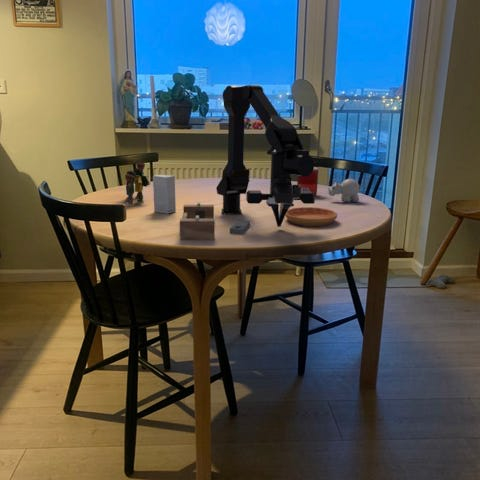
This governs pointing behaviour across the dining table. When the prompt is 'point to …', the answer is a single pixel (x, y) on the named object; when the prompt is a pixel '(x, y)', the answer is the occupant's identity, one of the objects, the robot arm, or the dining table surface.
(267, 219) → the dining table surface
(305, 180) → the canned food
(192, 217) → the open box
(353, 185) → the toy rhinoceros
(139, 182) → the dark toy figure
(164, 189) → the skincare box
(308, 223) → the saucer
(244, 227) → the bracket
